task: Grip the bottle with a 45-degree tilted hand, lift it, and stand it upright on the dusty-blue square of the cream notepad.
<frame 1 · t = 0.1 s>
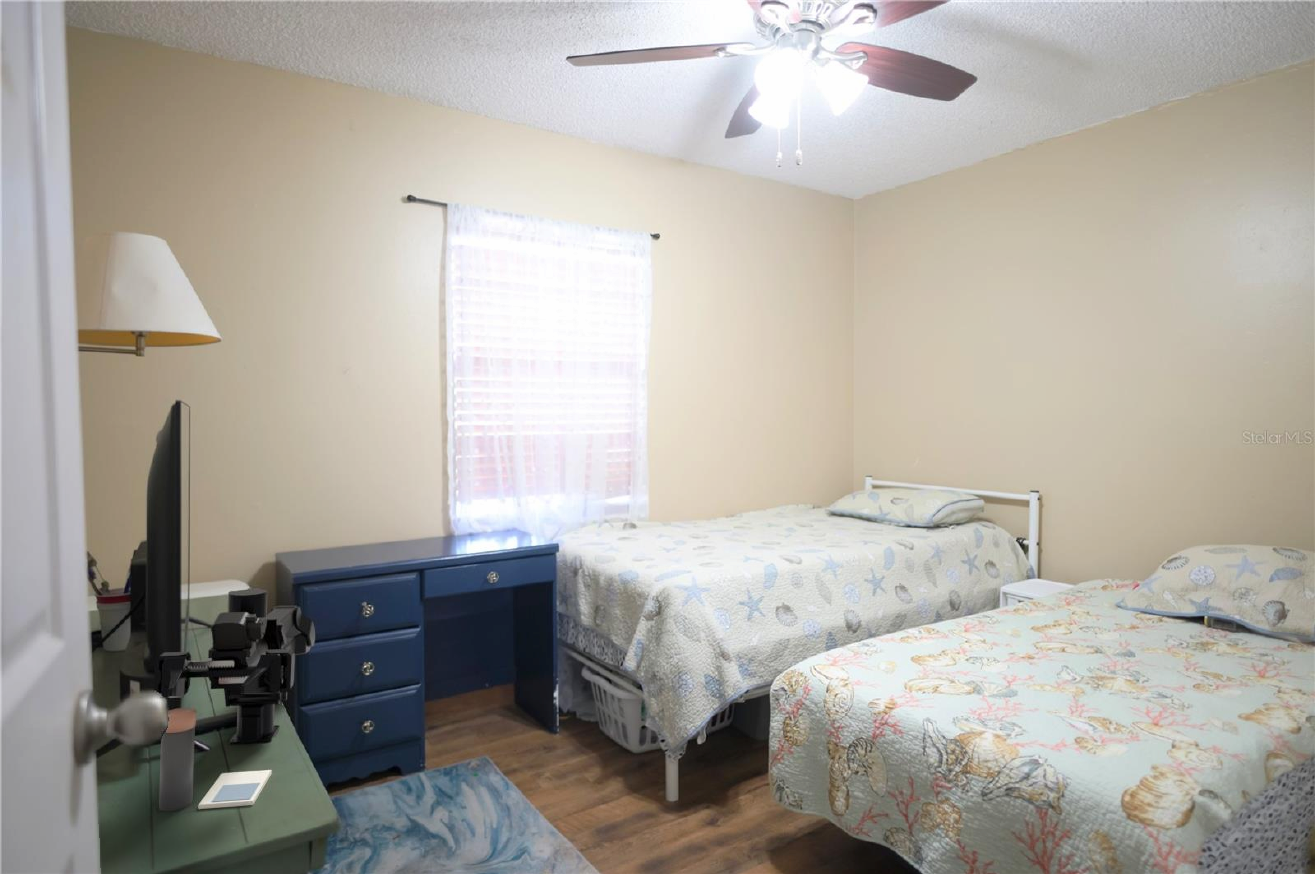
hand: (206, 691, 106), 16 cm above the dresser, tool horizontal, fingers open, 9 cm apart
notepad: (236, 790, 111), on the dresser
bottle: (175, 804, 106), on the dresser
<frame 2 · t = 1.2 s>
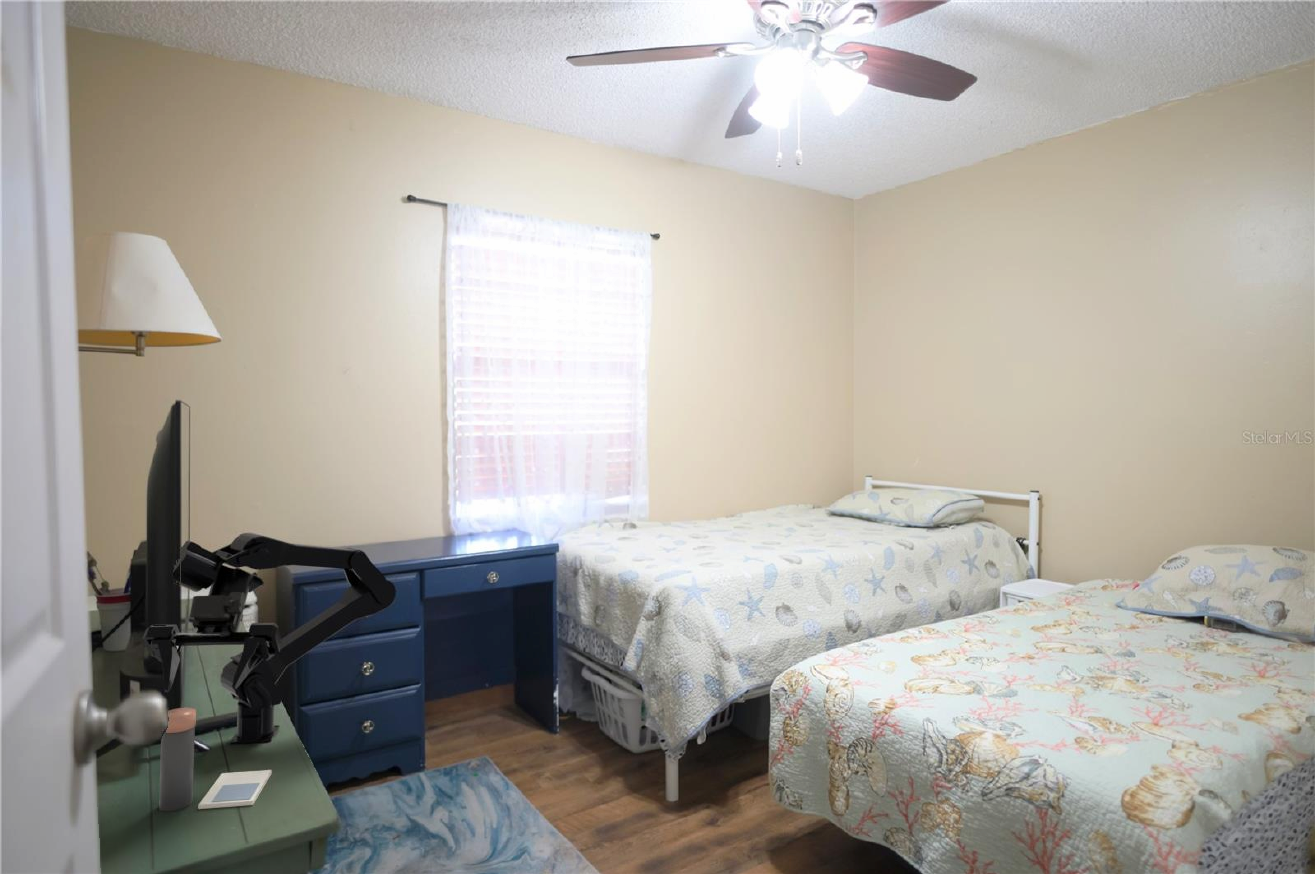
hand: (200, 689, 114), 14 cm above the dresser, tool tilted 45°, fingers open, 9 cm apart
nothing on the dresser moved.
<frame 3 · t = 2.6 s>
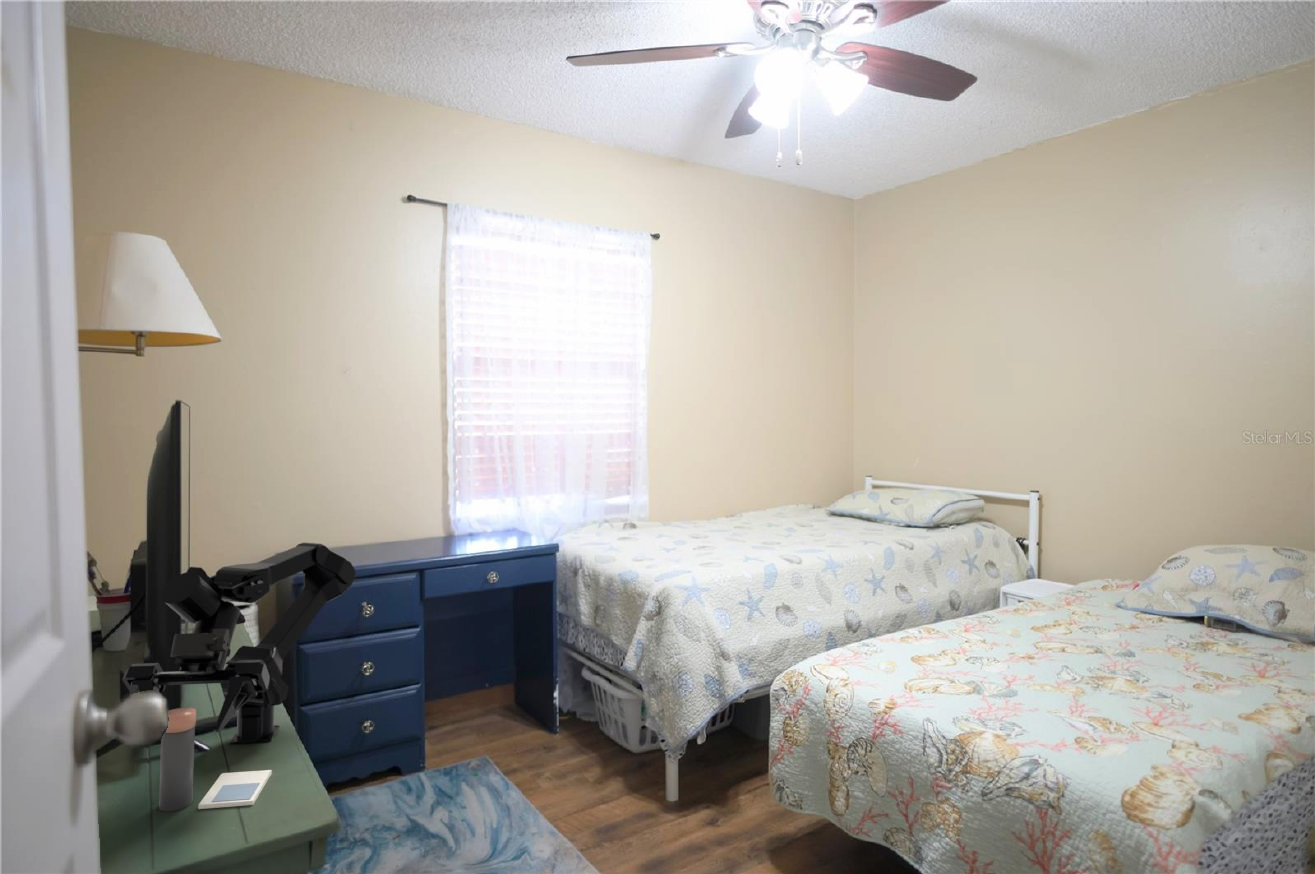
hand: (182, 733, 108), 9 cm above the dresser, tool tilted 45°, fingers open, 9 cm apart
nothing on the dresser moved.
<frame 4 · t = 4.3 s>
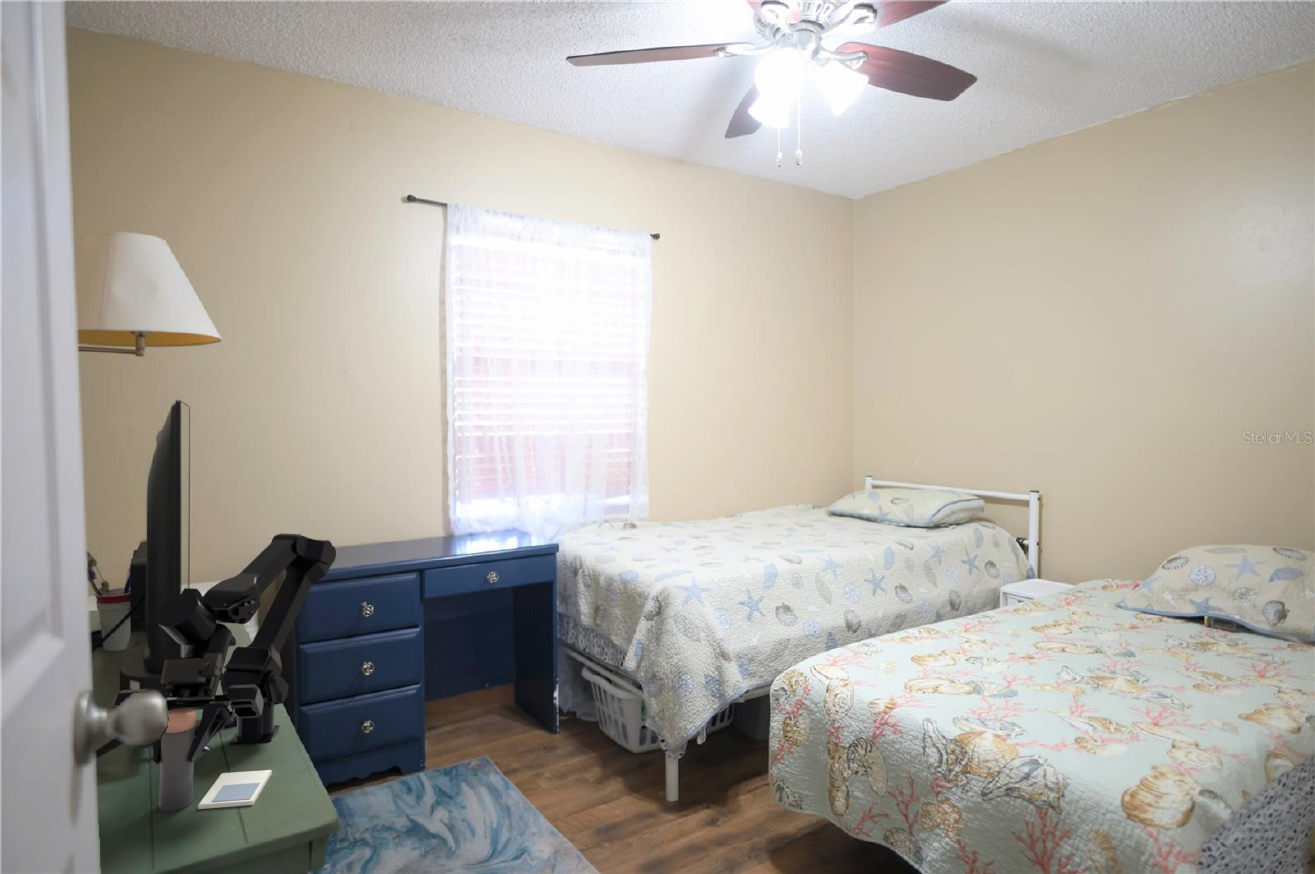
hand: (173, 762, 105), 7 cm above the dresser, tool tilted 45°, fingers closed on bottle, 4 cm apart
bottle: (175, 804, 106), on the dresser, touching gripper
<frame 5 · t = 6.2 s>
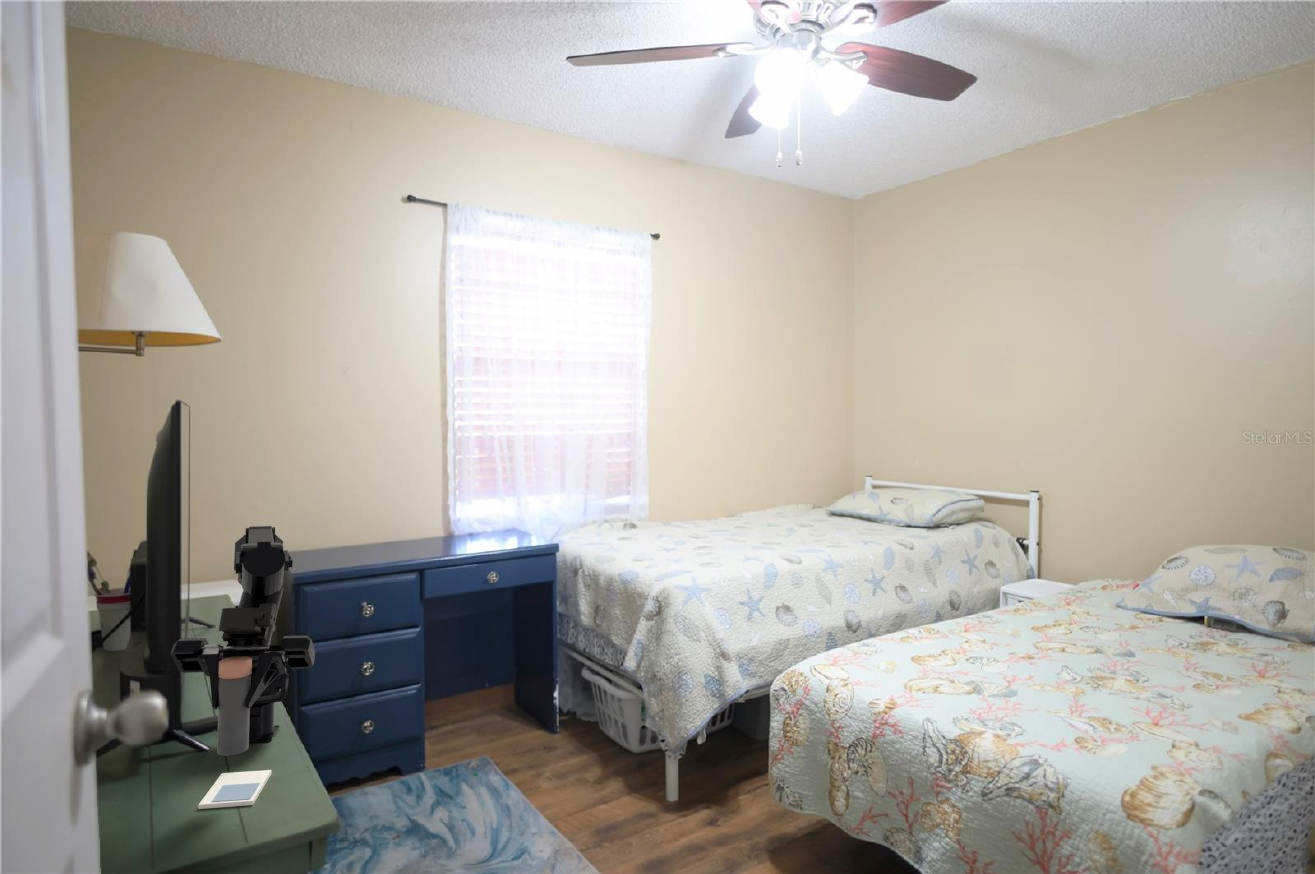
hand: (231, 707, 107), 14 cm above the dresser, tool tilted 45°, fingers closed on bottle, 4 cm apart
bottle: (232, 749, 109), point 7 cm above the dresser, touching gripper
when the fingers open (8 cm above the dresser, at t = 8.2 s): bottle stays where it is, resting on notepad.
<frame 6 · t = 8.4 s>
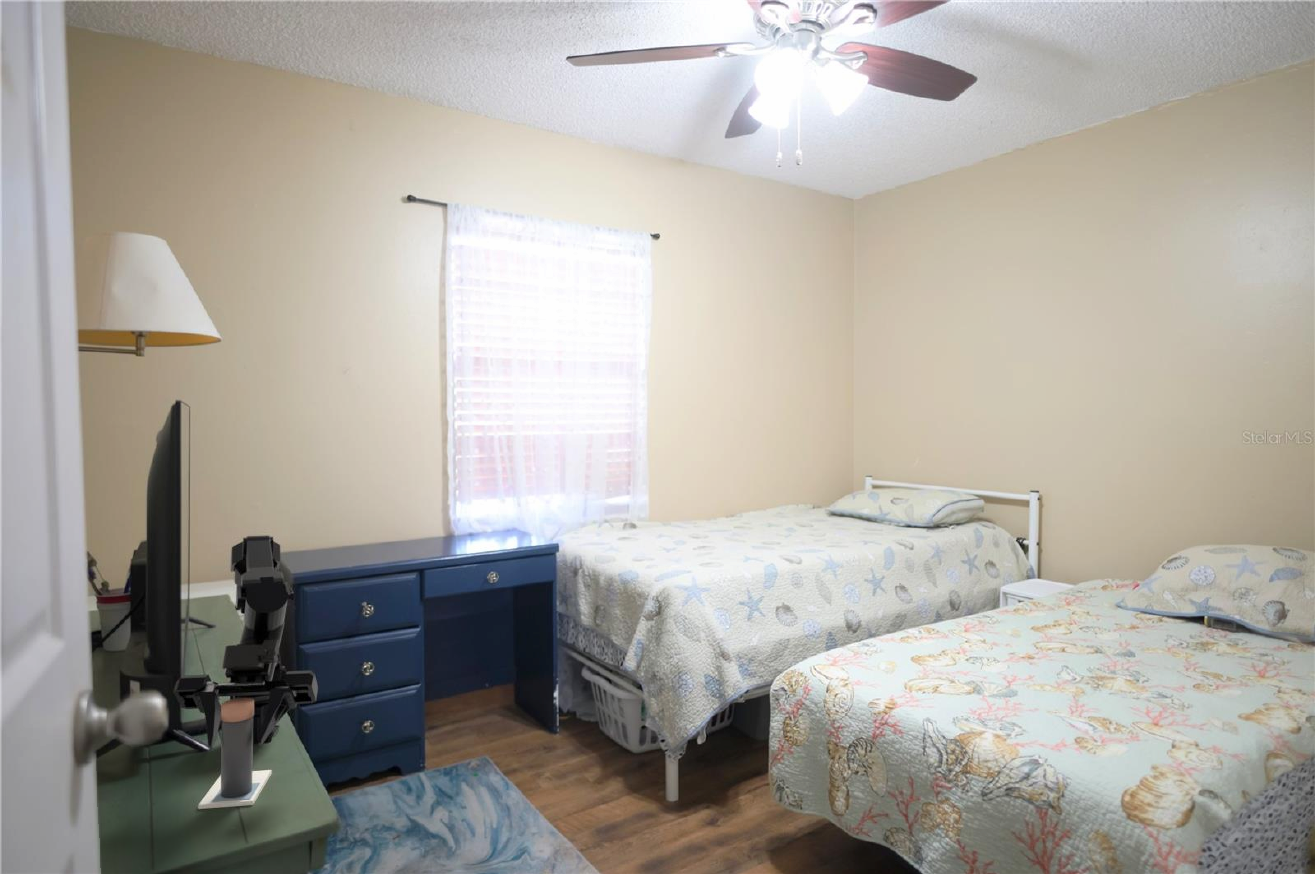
hand: (235, 745, 108), 8 cm above the dresser, tool tilted 45°, fingers open, 6 cm apart
bottle: (236, 791, 109), point 1 cm above the dresser, touching notepad
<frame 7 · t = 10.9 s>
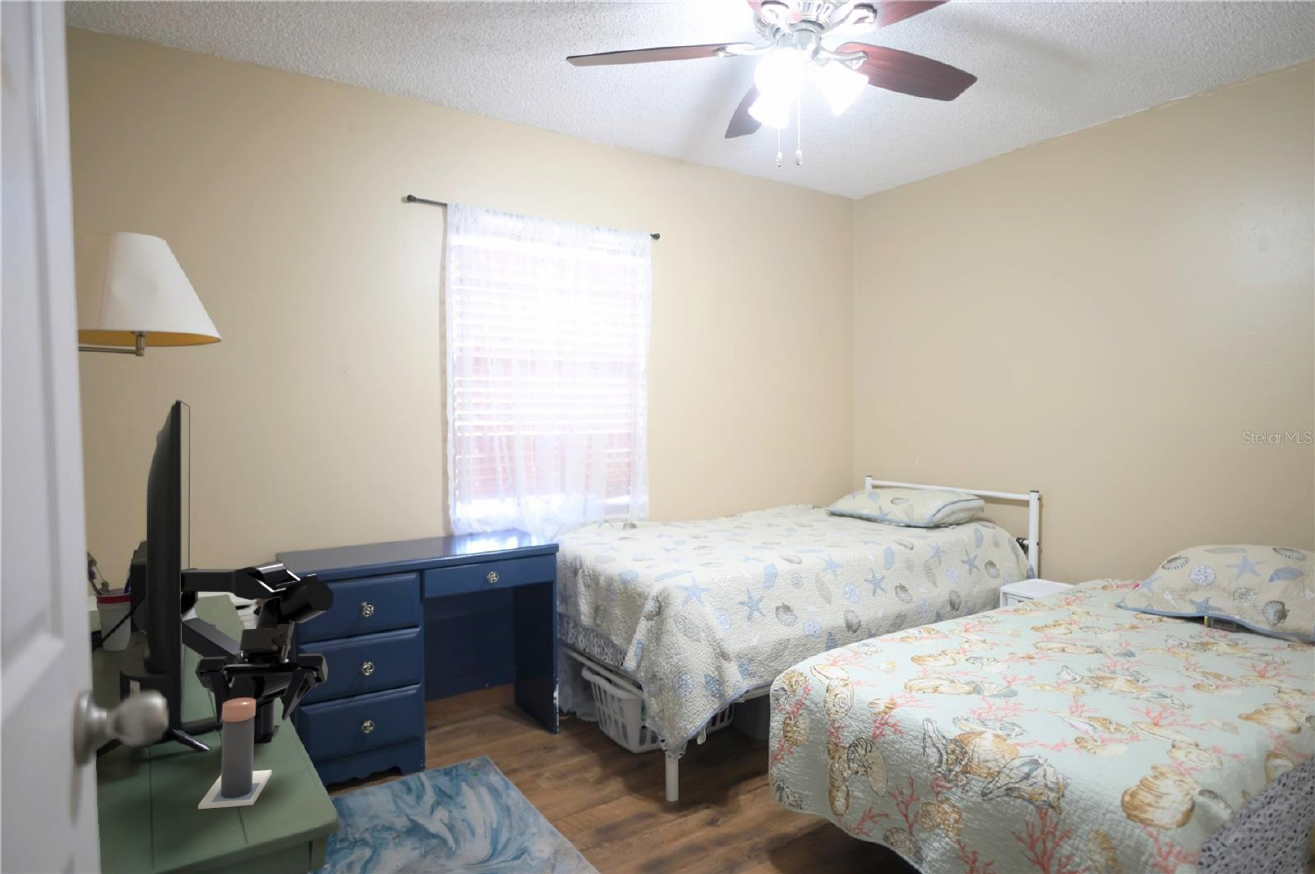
hand: (251, 721, 116), 8 cm above the dresser, tool tilted 45°, fingers open, 9 cm apart
nothing on the dresser moved.
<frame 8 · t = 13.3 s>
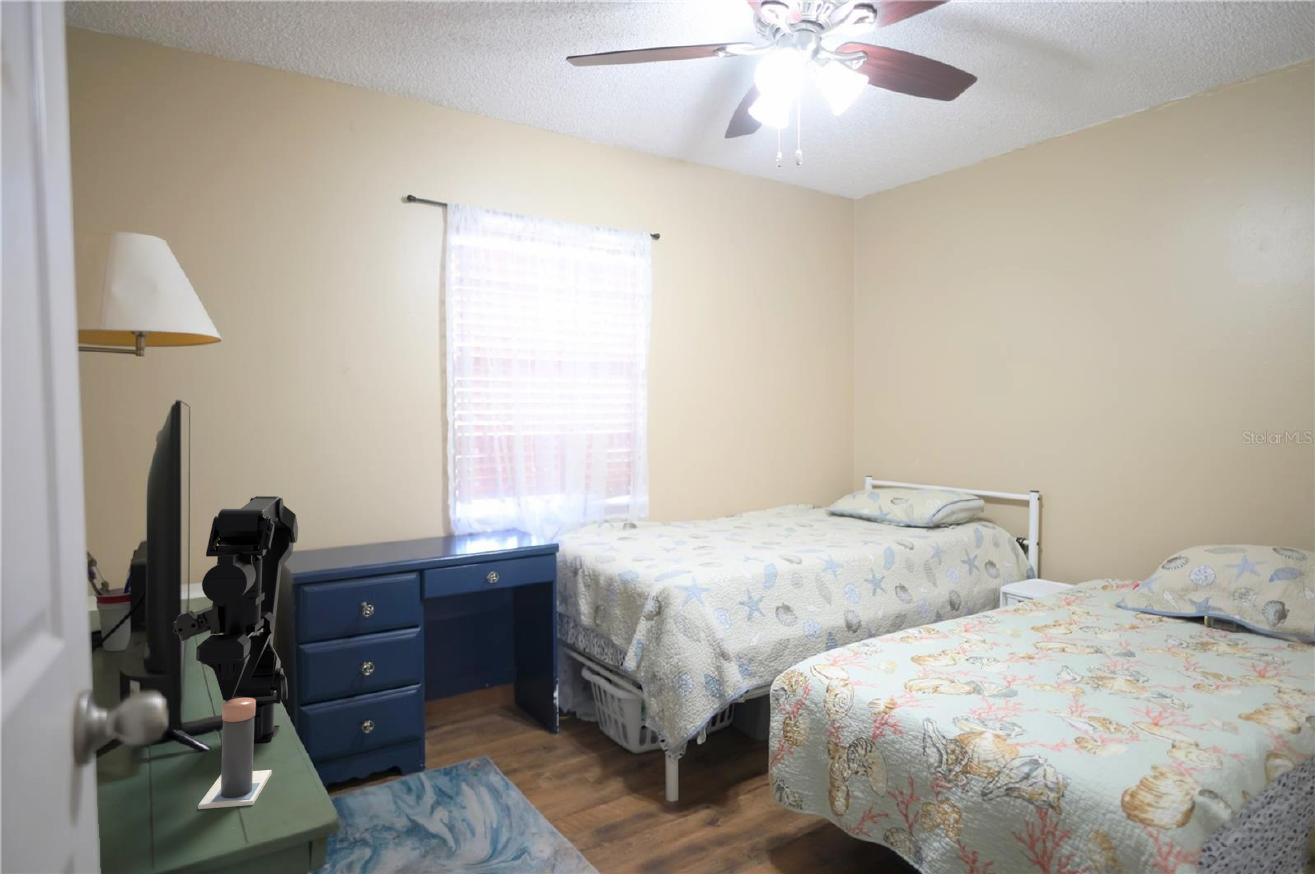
hand: (237, 690, 116), 13 cm above the dresser, tool pointing down, fingers open, 9 cm apart
nothing on the dresser moved.
at the end: bottle 0.0 cm from the target spot on the notepad, point 0.7 cm above the notepad's base; bottle tilted 0°; the gripper is holding nothing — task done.
